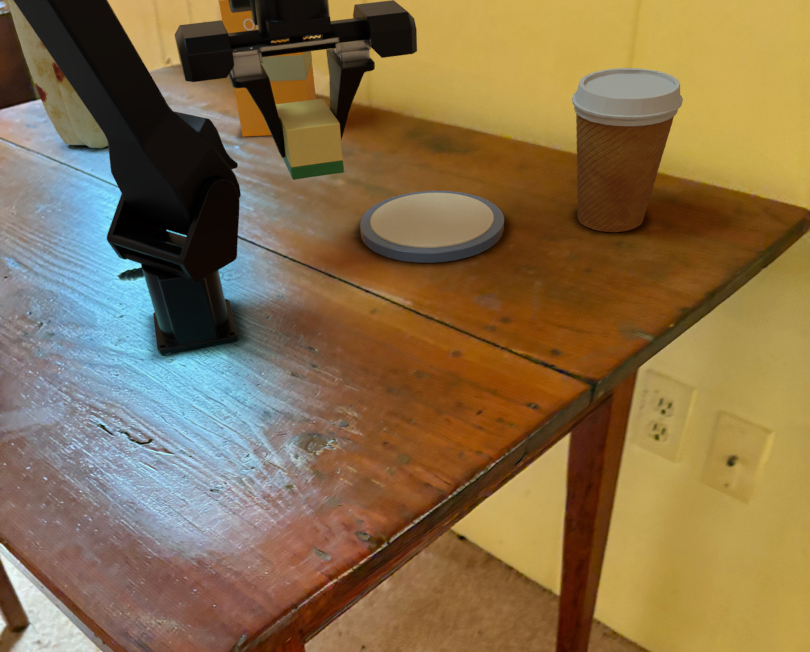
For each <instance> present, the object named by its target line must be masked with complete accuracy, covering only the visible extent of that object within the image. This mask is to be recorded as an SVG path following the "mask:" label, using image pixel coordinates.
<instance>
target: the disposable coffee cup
mask: <svg viewBox="0 0 810 652" xmlns="http://www.w3.org/2000/svg"><path fill="white" fill-rule="evenodd" d="M683 101H684V98H683V96H682V95H681V83H680V81H679V78H676V77H675V76H674V75H672V74H669V73H666V72H663V71H659V70H655V69H654V70H653V69H647V68H639V67H618V68H617V67H616V68H607V69H602V70H597V71H593V72H591V73H588V74H586V75H584V76H583V77H581V78H580V80H579V81H578V85H577V89H576V91H575V92H574V93H573V94H572V96H571V102H572V105H573V110H574V113H575V114H576V115H575V116H576V117H575V122H576V123H575V124H576V125H575V126H576V127H575V129H576V134H575V135H576V180H577V181H576V183H577V185H576V186H577V189H576V190H577V197H576V198H577V220H578V221H579V223H580V224H581V225H582V226H584V227H585V228H588V229H592V230H594V231H598V232H607V233H620V232H627V231H631V230H634V229H636V228H638V227H640V226H641V225H642V224H643V223H644V220H645V215H646V213H647V208H648V206H649V202H650V199H651V195H652V192H653V188H654V185H655V182H656V179H657V175H658V171H659V168H660V165H661V162H662V159H663V155H664V152H665V148H666V146H667V142H668V139H669V135H670V133H671V128H672V125H673V121H674V118H675V116H676V115H677V114H678V112H679V109H680V108H681V107H682V105H683Z"/></svg>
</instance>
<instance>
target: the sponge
mask: <svg viewBox="0 0 810 652" xmlns="http://www.w3.org/2000/svg"><path fill="white" fill-rule="evenodd" d="M276 108H277V112H278V116H279V120H280V124H281V128H282V132H283V136H284V144H285V155H286V157H284V158H282V160H283V163H284V164H285V166H286V168H287V170H288V172H289V175H290V177H291V178H292V180H293V181H295V180H300V179H308V178H315V177H321V176H329V175H336V174H343V173H344V172H345V167H344V166H345V165H344V157H343V146H342V141H341V133H340V123H339V122H338V120H337V119H336V117H335V116H334V114H333V113H332V111H331V110H330V106H329V105H328V104H327V102H326V101H325V99H324V98H316V99H314V100H306V101H298V102H291V103H283V104H276Z"/></svg>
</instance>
